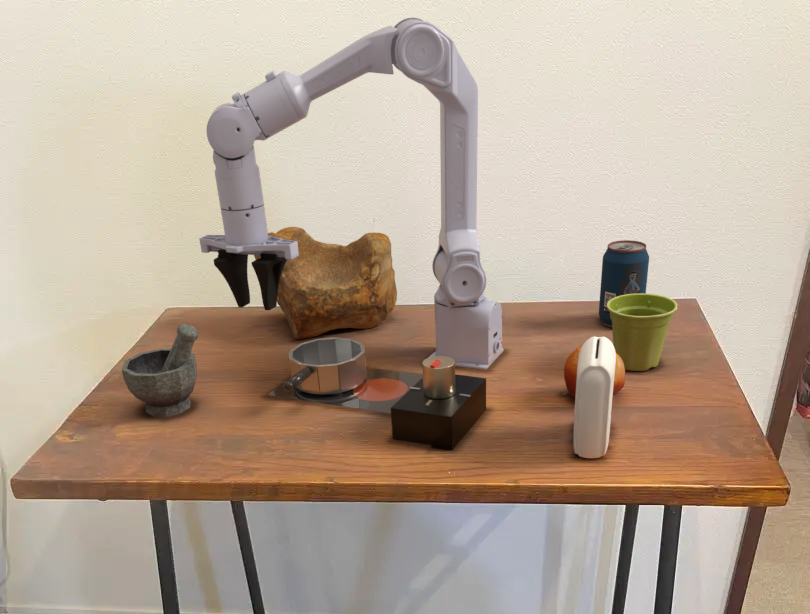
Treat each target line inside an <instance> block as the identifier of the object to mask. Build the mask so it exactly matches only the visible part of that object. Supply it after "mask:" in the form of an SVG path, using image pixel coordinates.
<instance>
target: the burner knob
mask: <svg viewBox="0 0 810 614" xmlns="http://www.w3.org/2000/svg"><path fill="white" fill-rule="evenodd" d="M421 364H422V365H421V367H422V375H423V390H424V395H425V396H427V397H429V398H434V399H443V398H448V397H451V396H453V395H454V394H455V392H456V388H455V374H456V366H455V361H454V359H452V358H450V357H446V356H434V357H430V358H428V357H427V358H425V359H423V360H422V362H421Z"/></svg>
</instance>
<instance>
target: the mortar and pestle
mask: <svg viewBox="0 0 810 614" xmlns="http://www.w3.org/2000/svg"><path fill="white" fill-rule="evenodd" d="M198 338H199V330H198V329H197V328H196V327H194V326H193V325H191V324H189V323H188V324H187V323H182V324H181V323H180V324H178V326H177V328H176V336H175V339H174V341H173V344H172V346H171V348H164V347H163V348H157V349H151V350H148V351H143V352H139V353H137V354H135V355H133V356H131V357H130V358H128V359H126V360H124V361H123V365H122V367H121V374H122V377H123V380H124V383H125V385H126V387H127V390H128V391H129V392H130V393H131V394H132V395H133V396H134V398H136V399H138V400H139V401H141V402H143V403H145V413H146V414H149V415H150V416H152V417H163V418H164V417H172V416H175V415H179V414H182V413H184V412H185V411H187V410H188V409H190V408H191V404H192V401H191V398H190V395H191V394H192V393H193V391H194V388H195V385H196V381H197V375H198V370H197V369H198V368H197V366H198V365H197V359H196V354H195V353H194V352H192V350H193V347H194V343H195V341H197V339H198Z"/></svg>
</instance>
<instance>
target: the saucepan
mask: <svg viewBox="0 0 810 614" xmlns="http://www.w3.org/2000/svg"><path fill="white" fill-rule="evenodd" d="M365 351H366V350H365V345H364V343H361V342H360V341H357V340H356V339H352V338H346V337H337V336H336V337H335V336H333V337H323V338H322V337H321V338H315V339H311V340H308V341H304V342H301V343H298V344H296V346H294V347H292V348H291V349H289V351H288V362H289V370H290V377H289V378H288V379H287V380H285V381H284V382H283V383H284V384H283V383H282V384H283V388H284V389H285V390H286V391H291V390H293V389H294V388H295V389H297V390H301V391H303V392H307V393H311V394H332V395H339V396H341V395H342V394H343V393H344V392H345V391H349V390H351V389H354V388H356V387H358V386H359V385H360V384H362V383H363V381H364V379H365V378H366V377H367V373H366V368H367V364H366V363H367V362H366V352H365Z"/></svg>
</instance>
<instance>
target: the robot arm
mask: <svg viewBox="0 0 810 614" xmlns="http://www.w3.org/2000/svg"><path fill="white" fill-rule="evenodd" d="M394 67H395V68H396V69H397V70H398V71H399V72H401V73H402V74H403V75H404V76H405V77H406V78H407V79H410V80H412V81H413V82H415V83H418V84H420V85H422V86H423V87H424V88H426V90H427V91H428V92H429V93H430V94H431V95H433V96H434V97H435V99H437V101H438V103H439V119H440V120H439V123H440V124H439V136H440V138H439V139H440V140H439V141H440V142H439V143H440V145H439V146H440V147H439V149H440V151H439V153H440V230H439V234H438V245H437V246H438V247H437V250H436V253H435V254H434V256H433V259H432V263H431V264H432V266H431V267H432V273H433V275H434V277H435V279H436V280H437V282H438V283H439V285H438V288H437V289H436V292H435V293H434V295H433V298H434V299H433V301H434V302H433V303H434V324H435V326H434V328H435V330H434V331H435V332H434V333H435V351H433V353H432V354H430V355H429V356H428V357H427V358H430V357H434V356H446V357H450V358H452V359H454V361H455V367H460V368H468V369H476V370H487V369H488V368H489V367H490V366H491V365H492V364H493V363H494V362H495V361H496V360H497V358H499V356H500V355H502V353H503V352H504V347H503V309H502V304H501V303H500V302H499V301H495V300H493V299H492V300H491V299H489V298H486V296H485V290H486V286H487V274H486V271H485V269H484V267H483V266H482V262H481V249H480V248H481V247H480V243H479V242H480V241H479V238H478V232H477V208H478V207H477V206H478V204H477V202H478V131H479V130H478V128H479V127H478V124H479V121H478V119H479V89H478V83H477V81H476V79H475V78H474V76H473V74H472V73H471V70H470V68H469V67H468V66H467V64H466V62H465V60H464V59H463V57H462V55H461V54H460V52H459V50H458V48H457V46H456V44H455V41H454V40H453V38H451V36H449V35H448V34H446V33H445V32H444V31H443V30H442V29H440V28H439V27H438V26H436V25H435V24H434V23H432V22H430V21H426V20H423V19H421V18H418V17H406V18H404V19H402V20H399V21H398V22H397V23H396V24H395V25H394V26H392V25H388V26H385V27H382V28H379V29H377V30H374V31H373V32H371V33H368V34H366V35H364V36H361V37H360V38H359V39H357V40H356V41H354V42H352V43H351V44H349V45H348V46H346V47H344V48H343V49H340V50H339V51H337V52H336V53H334V54H332V55H331V56H330V57H328V58H325V59H324V60H323V61H321V62H320V63H318V64H316V65H314V66H313V67H311V68H310V69H308V70H306V71H305V72H303V73H301V74H300V75H296V74H294V73H291V72H289V71H286V70H283V71H281V72H279V73H278V74H276V71H275V70H272V71H270V72H267V73H266V74H265V76H264V77H265V80H264V82H262V83H260V84H258V85H256V86H254V87H253V88H251V89H250V90H248V91H246V92H244V93H242V94H241V93H240V92H239V91H237V92H236V93H234V94H232V96H231V99H232V102H233V103H231V102H226V103H222V104H220V105H218V106H217V107H216V108H215V109H214V110H213V111H212V112H211V115H210V117H209V119H208V121H207V124H206V137H207V141H208V144H209V146H210V147H211V148H212V150H213V151H212V161H213V164H214V166H215V169H214V177H215V183H216V189H217V197H218V201H219V202H218V203H219V208H220V213H221V219H222V226H223V232H224V234H206V235H204V236H201V237H200V238H198V239H199V245H200V250H201V253H203V254H204V253H205V254H209V253H211V252H212V253H217V257H216V258H214V259H213V265H214V267H215V268H216V269H217V270H218V271H219V272H220V273H221V274H220V275H222V277H223V278H224V279H225V281H226V283H227V285H228V287H229V288H230V291H231V293H232V295H233V298H234V300H235V302H236V304H237V307H238V308H244V307H246V306H247V305H249V304H251V292H250V285H249V278H248V276H249V275H248V261H249V256H254V255H260V257H261V258H259V259H257V260H255V259H254V260H253V261H251V267H252V268H253V270H254V273H255V275H256V278H257V281H258V285H259V287H260V293H261V299H262V305H263V308H264V310H265V311H271V310H273V309H274V308H276V307H277V305H278V303H277V294H278V287H279V281H280V277H281V274H282V271H283V268H284V265H285V263H286V260H287V259H289V260H292V259H294V258H295V257H297V256H299V252H298V244H297V241H290V240H285V239H281V238H277V237H272V236H268V233H269V230H268V224H267V217H266V209H265V202H264V194H263V188H262V180H261V173H260V168H259V167H260V166H259V165H258V164H257V159H256V158H257V157H256V152H255V146H254V145H255V142H256V141H263V142H264V141H267V140H268V139H269V138H271V137H273V136H275V135H277V134H278V133H280V132H283V131H284V130H286V129H287V128H289V127H291V126H293V125H295V124H296V123H298V122H300V121H302V120H303V119H306V118H307V117H308V114H309V110H310V107H311V103H312V102H313V101H315V100H316V99H319V98H321V97H322V96H324V95H326V94H328V93H330V92H332V91H334V90H336V89H338V88H340V87H342V86H344V85H346V84H348V83H351V81H354V80H356V79H358V78H359V77H362V76H363V75H366V74H368V73H374V74H383V75H394Z"/></svg>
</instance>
